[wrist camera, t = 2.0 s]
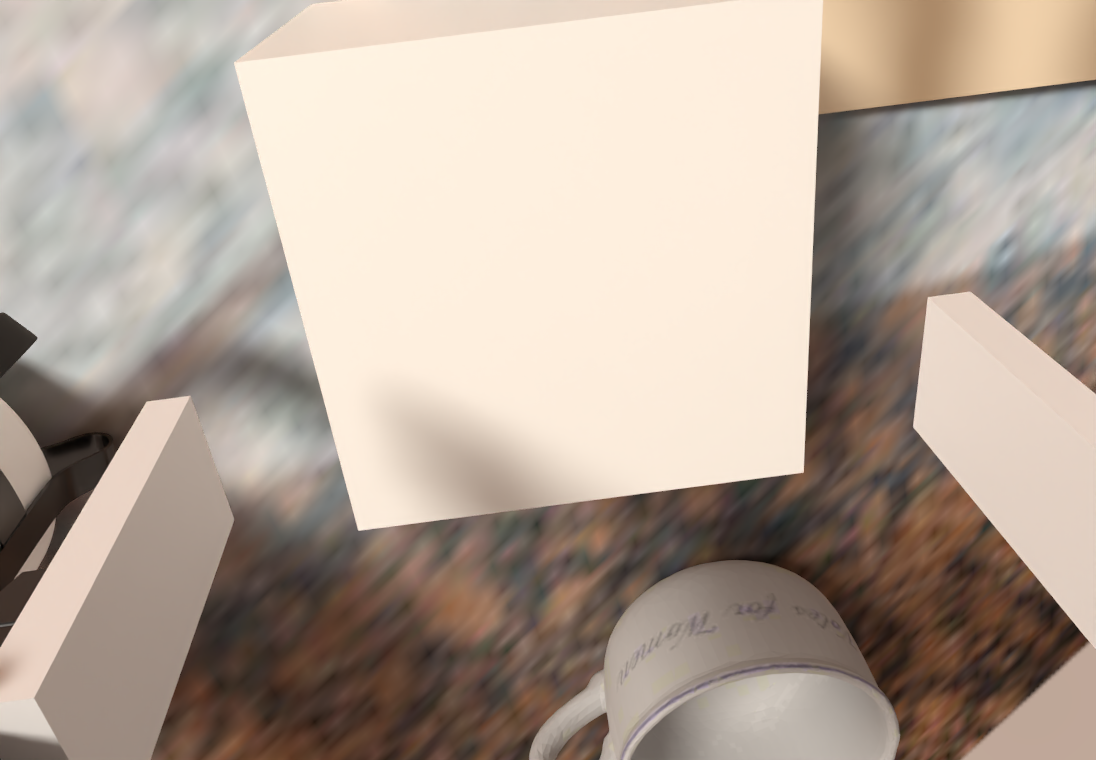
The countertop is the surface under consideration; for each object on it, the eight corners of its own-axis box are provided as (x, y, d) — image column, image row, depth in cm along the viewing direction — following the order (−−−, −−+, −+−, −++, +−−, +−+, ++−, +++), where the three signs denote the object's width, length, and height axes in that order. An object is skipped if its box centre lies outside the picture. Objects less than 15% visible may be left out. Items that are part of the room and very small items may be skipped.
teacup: (842, 513, 38) (926, 656, 31) (816, 694, 43) (883, 851, 36) (512, 541, 37) (521, 693, 30) (527, 720, 43) (538, 885, 36)
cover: (709, -45, 27) (823, -11, 18) (715, 315, 33) (803, 472, 24) (311, 4, 27) (234, 62, 18) (388, 357, 33) (358, 530, 24)
